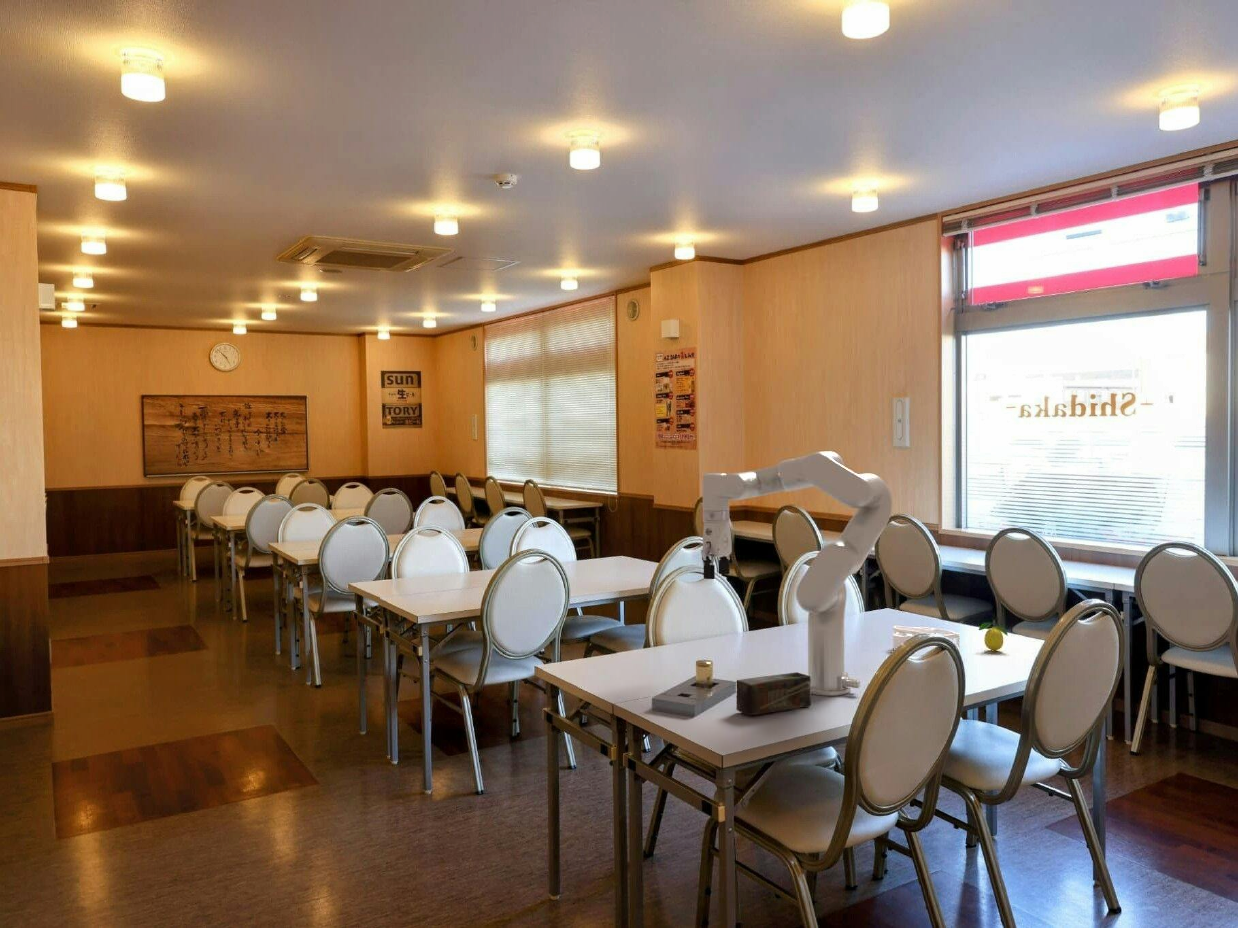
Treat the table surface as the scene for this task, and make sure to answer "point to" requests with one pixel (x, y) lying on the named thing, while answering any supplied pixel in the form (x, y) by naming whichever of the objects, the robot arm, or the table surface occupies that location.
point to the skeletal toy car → (912, 631)
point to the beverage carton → (773, 693)
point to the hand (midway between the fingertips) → (716, 576)
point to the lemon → (993, 636)
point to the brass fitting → (704, 674)
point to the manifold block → (693, 697)
